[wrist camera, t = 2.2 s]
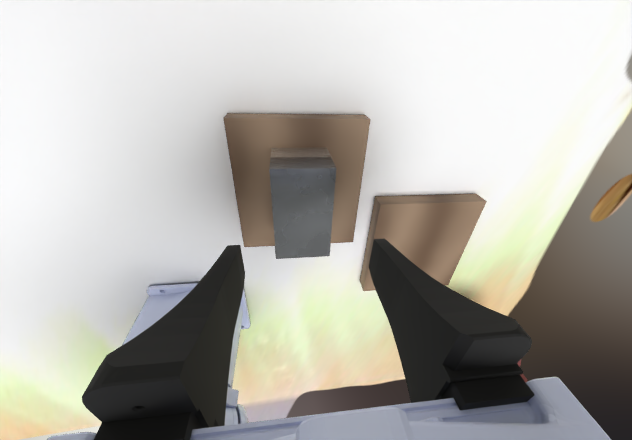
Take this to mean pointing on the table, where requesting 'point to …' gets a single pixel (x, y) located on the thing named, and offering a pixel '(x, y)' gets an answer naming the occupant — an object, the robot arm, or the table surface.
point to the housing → (302, 201)
